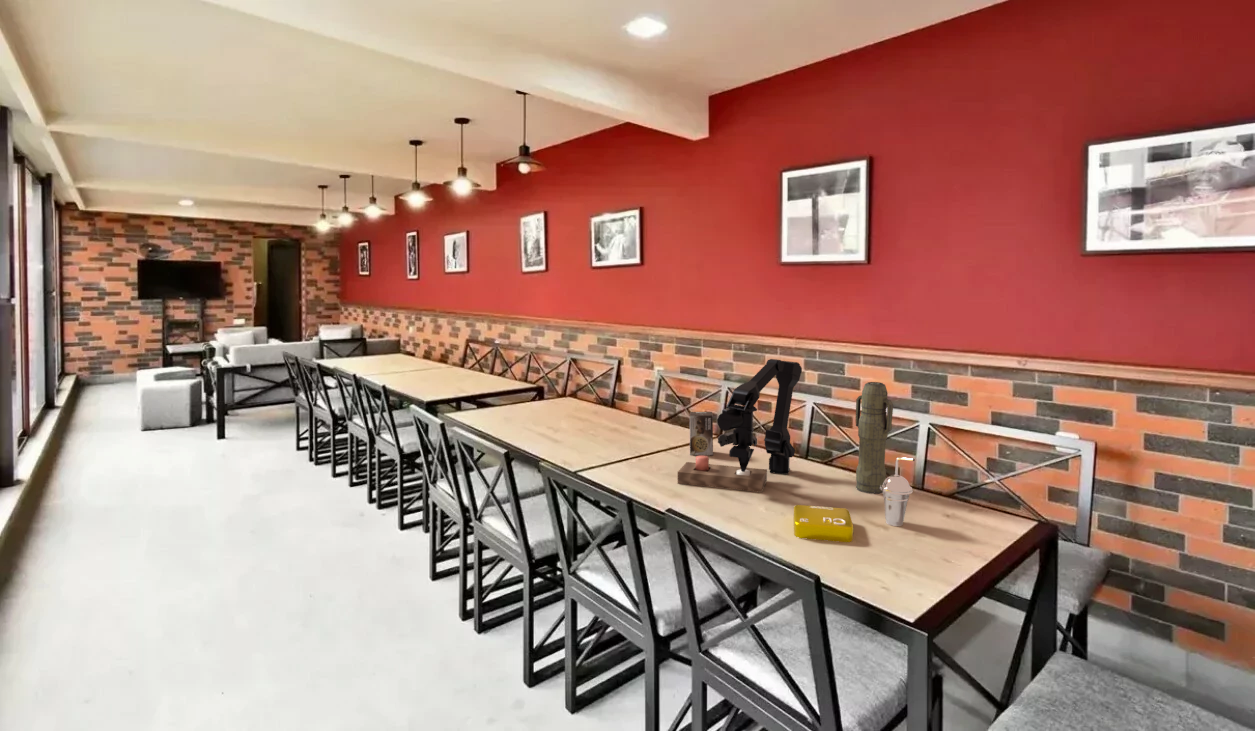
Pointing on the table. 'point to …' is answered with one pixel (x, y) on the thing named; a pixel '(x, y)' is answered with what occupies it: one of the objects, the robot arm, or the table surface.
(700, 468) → the pink rounded block
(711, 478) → the pin block
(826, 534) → the element tile
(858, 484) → the thermos
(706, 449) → the coffee box
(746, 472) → the pin
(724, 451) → the table surface
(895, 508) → the cup with straw
